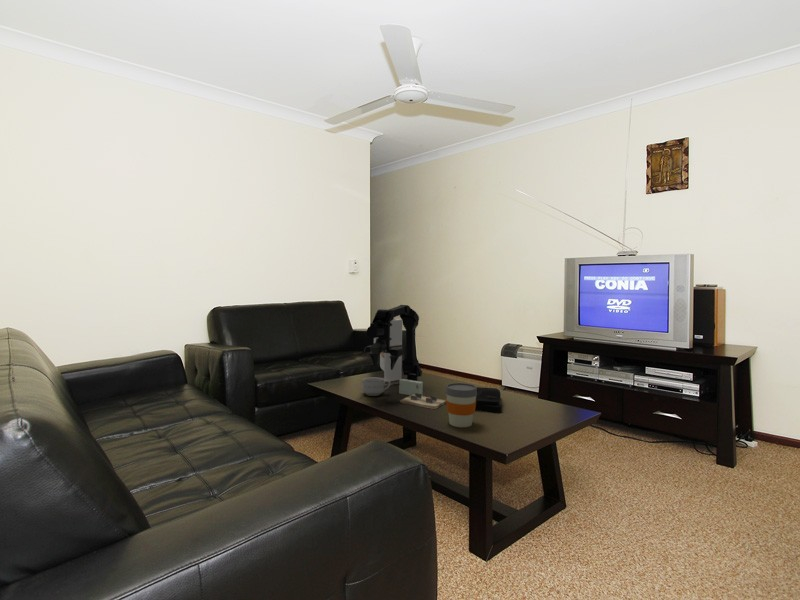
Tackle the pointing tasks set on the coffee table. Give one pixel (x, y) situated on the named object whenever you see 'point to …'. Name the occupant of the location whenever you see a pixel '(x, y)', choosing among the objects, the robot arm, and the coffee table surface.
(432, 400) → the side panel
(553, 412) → the coffee table surface
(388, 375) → the white stacked tower
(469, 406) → the reusable coffee cup
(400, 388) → the door slab
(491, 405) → the gaming console
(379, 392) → the teacup
